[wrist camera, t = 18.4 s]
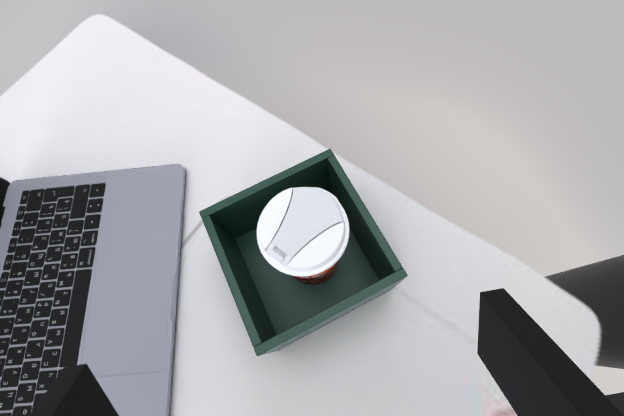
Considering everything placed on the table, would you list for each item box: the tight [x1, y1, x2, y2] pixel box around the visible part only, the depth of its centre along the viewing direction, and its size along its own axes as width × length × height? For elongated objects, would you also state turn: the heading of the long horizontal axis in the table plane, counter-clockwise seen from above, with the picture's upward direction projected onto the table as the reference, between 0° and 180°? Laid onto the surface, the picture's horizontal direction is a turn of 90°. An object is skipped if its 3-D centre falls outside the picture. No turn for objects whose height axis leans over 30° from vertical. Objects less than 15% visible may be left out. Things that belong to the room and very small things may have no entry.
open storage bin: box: [199, 149, 407, 356], centre depth 36 cm, size 15×15×10 cm
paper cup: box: [257, 187, 349, 285], centre depth 33 cm, size 8×8×14 cm
